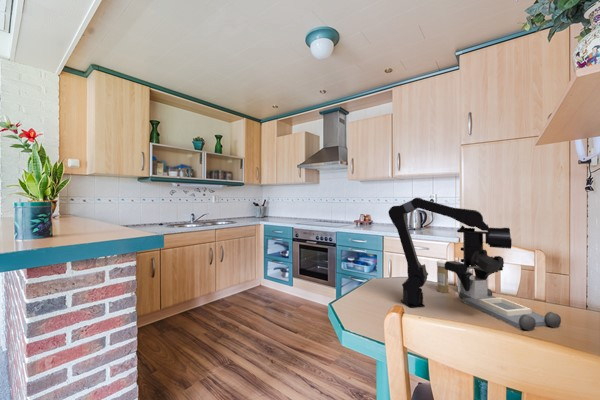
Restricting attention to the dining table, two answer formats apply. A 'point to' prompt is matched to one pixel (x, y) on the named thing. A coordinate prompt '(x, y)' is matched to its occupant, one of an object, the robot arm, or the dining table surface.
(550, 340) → the dining table surface
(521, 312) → the chassis
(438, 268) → the sprinkles bottle
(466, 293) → the block
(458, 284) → the small box
